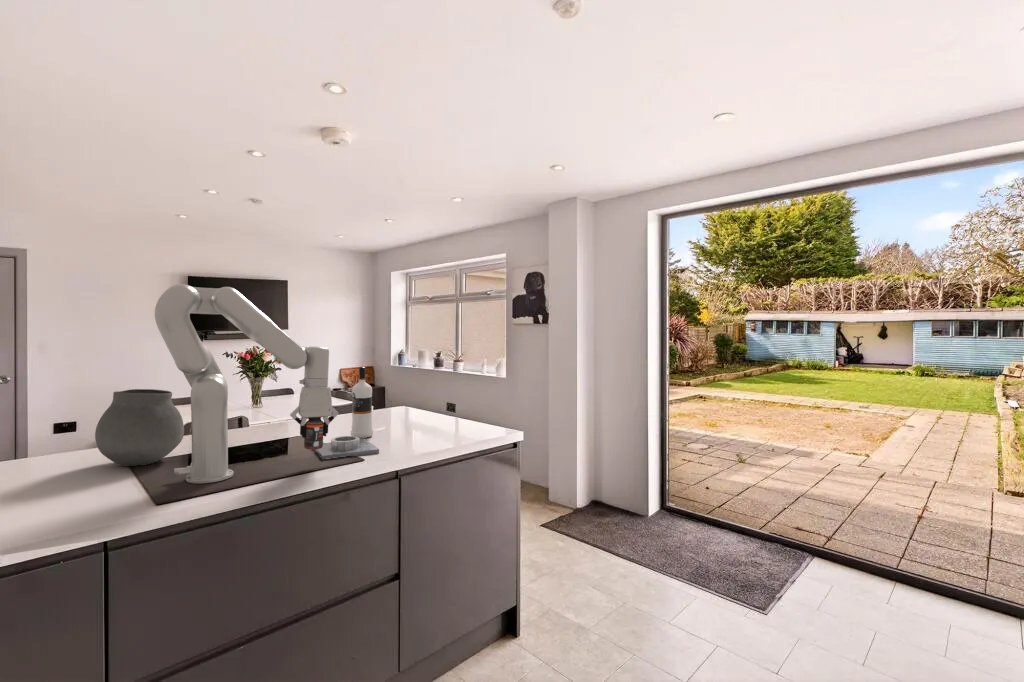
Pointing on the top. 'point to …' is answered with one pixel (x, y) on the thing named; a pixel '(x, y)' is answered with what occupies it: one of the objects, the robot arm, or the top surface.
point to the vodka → (362, 407)
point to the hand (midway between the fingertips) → (314, 435)
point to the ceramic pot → (139, 427)
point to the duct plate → (346, 447)
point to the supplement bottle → (314, 433)
